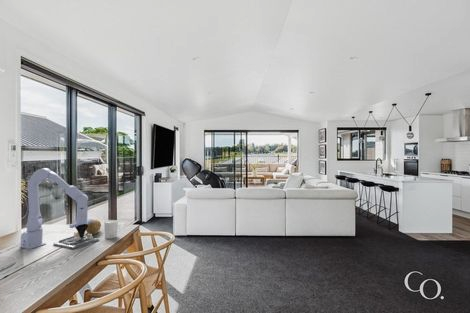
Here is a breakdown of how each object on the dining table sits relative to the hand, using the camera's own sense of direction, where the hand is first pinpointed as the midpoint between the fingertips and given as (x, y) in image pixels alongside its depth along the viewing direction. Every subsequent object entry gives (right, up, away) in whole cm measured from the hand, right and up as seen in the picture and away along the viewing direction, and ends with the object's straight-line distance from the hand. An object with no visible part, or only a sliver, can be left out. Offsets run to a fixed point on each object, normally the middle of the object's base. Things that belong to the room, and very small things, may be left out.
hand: (81, 237), depth 165 cm
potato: (-1, -3, +16) cm, 17 cm away
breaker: (-1, -1, -3) cm, 3 cm away
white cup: (+13, -3, +10) cm, 17 cm away
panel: (-1, -3, -3) cm, 4 cm away
